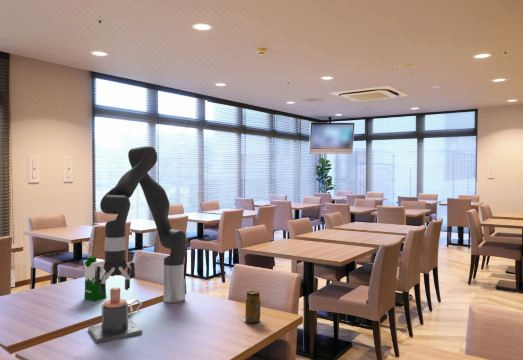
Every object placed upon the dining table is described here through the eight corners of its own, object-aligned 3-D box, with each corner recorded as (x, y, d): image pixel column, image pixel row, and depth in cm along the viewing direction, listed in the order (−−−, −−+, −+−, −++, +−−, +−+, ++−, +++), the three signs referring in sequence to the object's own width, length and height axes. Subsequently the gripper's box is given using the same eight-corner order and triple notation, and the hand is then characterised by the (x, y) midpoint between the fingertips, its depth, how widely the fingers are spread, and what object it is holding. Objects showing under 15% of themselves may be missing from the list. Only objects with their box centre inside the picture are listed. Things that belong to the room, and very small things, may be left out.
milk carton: (81, 299, 199) (81, 256, 198) (97, 294, 206) (97, 253, 206) (92, 302, 194) (93, 259, 193) (109, 297, 202) (109, 255, 201)
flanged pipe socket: (130, 322, 169) (130, 296, 169) (142, 334, 158) (142, 306, 158) (88, 330, 160) (88, 303, 160) (97, 343, 149) (97, 314, 149)
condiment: (256, 317, 177) (257, 289, 177) (266, 324, 170) (266, 294, 169) (240, 320, 174) (241, 291, 174) (249, 327, 167) (249, 296, 166)
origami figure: (126, 319, 174) (126, 307, 174) (111, 315, 177) (111, 304, 177) (146, 310, 184) (146, 299, 184) (132, 307, 188) (132, 296, 188)
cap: (122, 306, 165) (122, 284, 164) (129, 312, 158) (129, 289, 158) (101, 310, 160) (101, 287, 160) (107, 316, 153) (107, 293, 153)
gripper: (131, 245, 165) (130, 286, 166) (92, 248, 157) (92, 291, 158) (137, 248, 159) (137, 290, 160) (97, 252, 151) (97, 297, 152)
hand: (115, 291), depth 159 cm, fingers open, 8 cm apart
